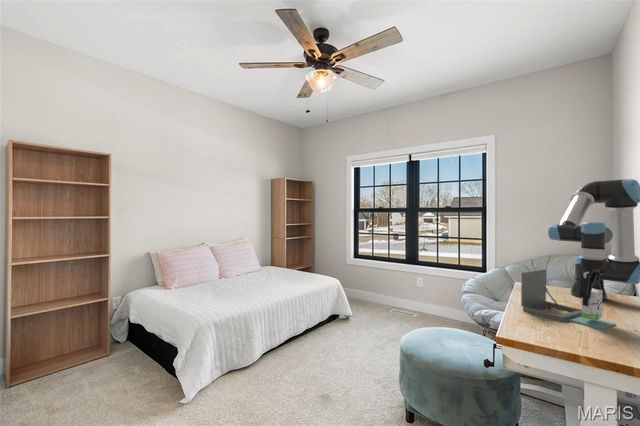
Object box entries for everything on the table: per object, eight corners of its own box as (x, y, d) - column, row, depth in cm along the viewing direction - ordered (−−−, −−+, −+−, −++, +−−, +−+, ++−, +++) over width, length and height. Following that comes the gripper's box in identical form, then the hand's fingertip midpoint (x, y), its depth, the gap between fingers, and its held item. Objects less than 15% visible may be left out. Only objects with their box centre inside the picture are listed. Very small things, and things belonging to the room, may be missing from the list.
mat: (582, 316, 133) (582, 315, 133) (615, 325, 124) (615, 323, 124) (569, 320, 128) (569, 319, 128) (602, 329, 118) (602, 328, 118)
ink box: (596, 321, 121) (596, 292, 121) (580, 317, 125) (581, 289, 125) (602, 317, 126) (603, 289, 126) (587, 313, 130) (587, 287, 130)
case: (544, 304, 151) (544, 269, 151) (585, 314, 136) (586, 275, 136) (521, 310, 141) (521, 272, 141) (562, 321, 126) (563, 279, 126)
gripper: (593, 255, 134) (592, 305, 134) (569, 258, 124) (568, 312, 124) (615, 258, 127) (614, 310, 127) (591, 261, 117) (591, 318, 117)
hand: (591, 311), depth 126 cm, fingers closed on ink box, 9 cm apart
